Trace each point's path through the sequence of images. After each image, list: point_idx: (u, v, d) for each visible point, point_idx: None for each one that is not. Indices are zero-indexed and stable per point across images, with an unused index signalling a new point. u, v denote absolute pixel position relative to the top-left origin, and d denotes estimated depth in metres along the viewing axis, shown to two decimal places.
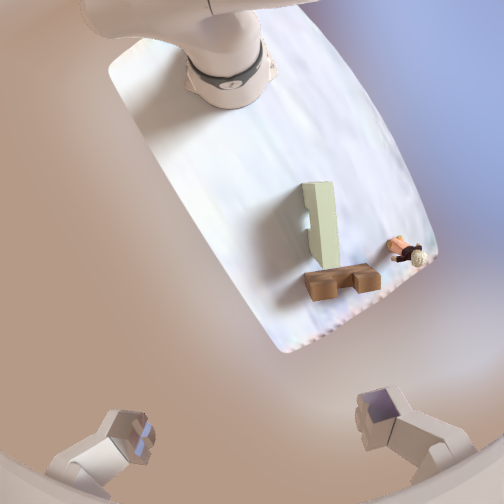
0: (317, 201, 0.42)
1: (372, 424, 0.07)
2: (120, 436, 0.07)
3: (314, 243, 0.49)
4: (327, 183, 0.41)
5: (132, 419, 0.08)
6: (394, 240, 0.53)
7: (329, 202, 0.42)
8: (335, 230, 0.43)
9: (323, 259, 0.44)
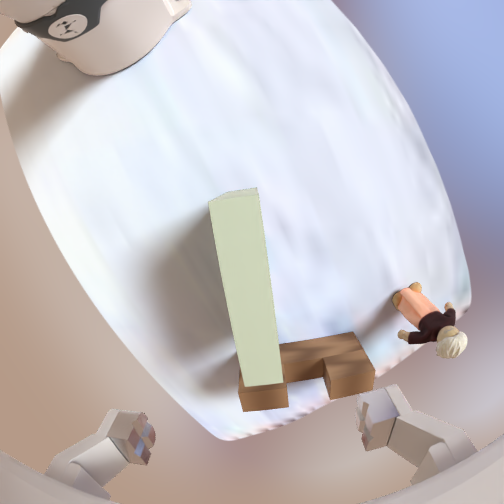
0: (218, 247, 0.17)
1: (372, 424, 0.07)
2: (120, 436, 0.07)
3: None
4: (243, 199, 0.16)
5: (132, 419, 0.08)
6: (406, 295, 0.28)
7: (251, 250, 0.17)
8: (269, 315, 0.18)
9: (243, 371, 0.19)
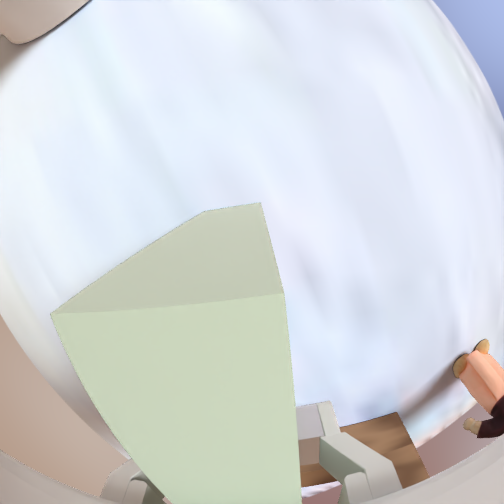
0: (132, 449, 0.04)
1: None
2: None
3: None
4: (198, 319, 0.03)
5: None
6: (477, 364, 0.15)
7: (246, 470, 0.04)
8: None
9: None
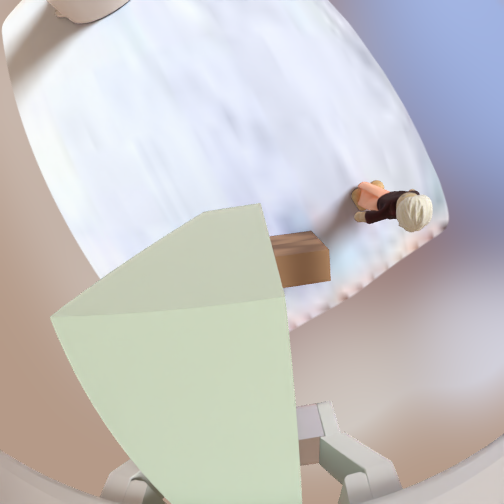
0: (133, 452, 0.04)
1: None
2: None
3: None
4: (198, 323, 0.03)
5: None
6: (364, 185, 0.28)
7: (247, 472, 0.04)
8: None
9: None
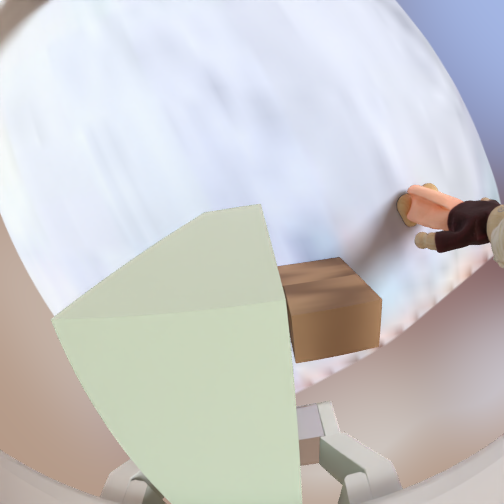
0: (134, 453, 0.04)
1: None
2: None
3: None
4: (200, 326, 0.03)
5: None
6: (418, 190, 0.17)
7: (247, 473, 0.04)
8: None
9: None
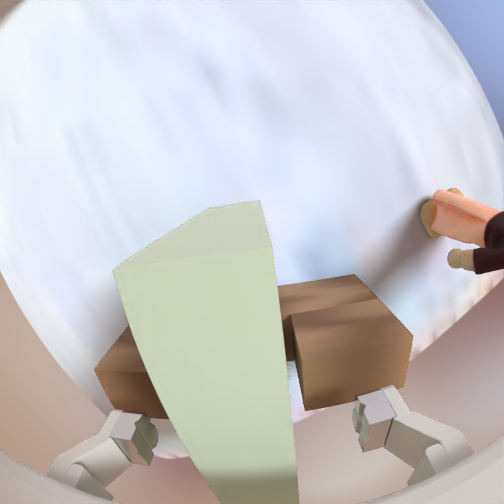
0: (159, 385, 0.05)
1: (369, 425, 0.07)
2: (123, 436, 0.07)
3: None
4: (220, 264, 0.05)
5: (135, 419, 0.08)
6: (446, 196, 0.14)
7: (248, 398, 0.05)
8: (285, 481, 0.07)
9: None
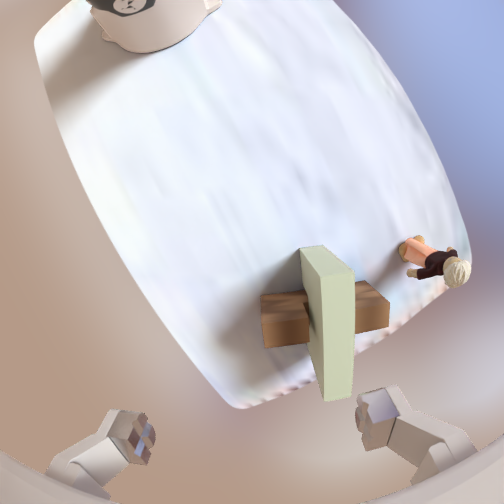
0: (323, 307, 0.23)
1: (372, 424, 0.07)
2: (120, 436, 0.07)
3: (314, 351, 0.30)
4: (344, 275, 0.22)
5: (132, 419, 0.08)
6: (411, 242, 0.31)
7: (345, 309, 0.23)
8: (350, 350, 0.24)
9: (325, 390, 0.25)
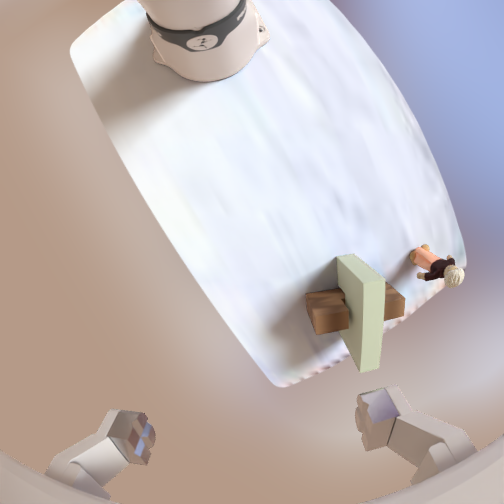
0: (364, 304, 0.31)
1: (372, 424, 0.07)
2: (120, 436, 0.07)
3: (349, 335, 0.39)
4: (379, 281, 0.31)
5: (132, 419, 0.08)
6: (420, 251, 0.40)
7: (378, 304, 0.31)
8: (380, 333, 0.33)
9: (361, 364, 0.34)
